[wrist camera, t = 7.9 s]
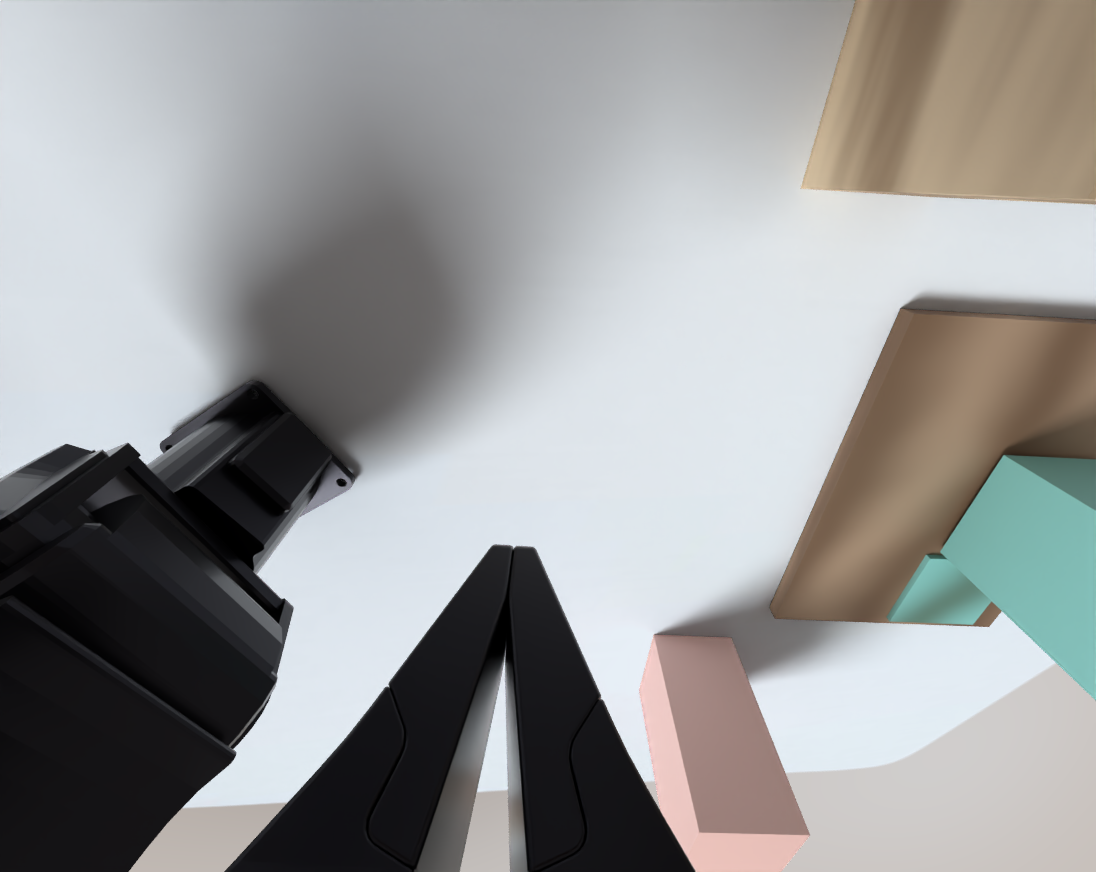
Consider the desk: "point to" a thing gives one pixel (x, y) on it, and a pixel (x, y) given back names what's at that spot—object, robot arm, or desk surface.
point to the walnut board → (936, 461)
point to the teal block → (1037, 554)
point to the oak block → (963, 102)
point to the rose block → (716, 759)
